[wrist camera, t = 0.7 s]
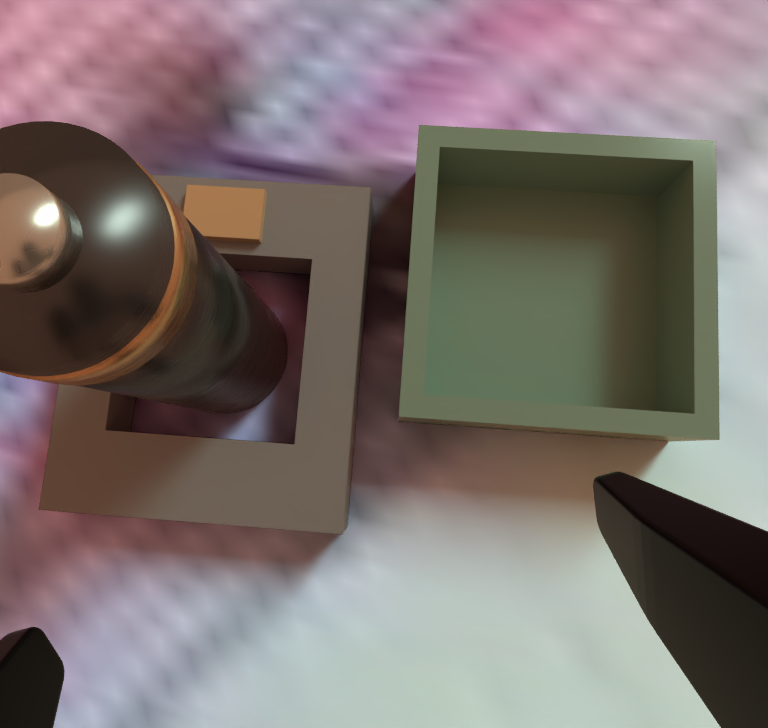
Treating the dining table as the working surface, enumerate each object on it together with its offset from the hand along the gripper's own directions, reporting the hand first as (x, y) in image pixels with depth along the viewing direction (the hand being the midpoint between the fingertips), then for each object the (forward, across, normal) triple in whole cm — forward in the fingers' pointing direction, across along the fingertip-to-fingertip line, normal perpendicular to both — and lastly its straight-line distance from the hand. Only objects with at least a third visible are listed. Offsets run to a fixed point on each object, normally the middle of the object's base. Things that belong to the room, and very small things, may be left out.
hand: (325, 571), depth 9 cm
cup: (+14, -9, +2) cm, 17 cm away
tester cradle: (+15, +4, +1) cm, 16 cm away
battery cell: (+15, +4, +1) cm, 16 cm away
